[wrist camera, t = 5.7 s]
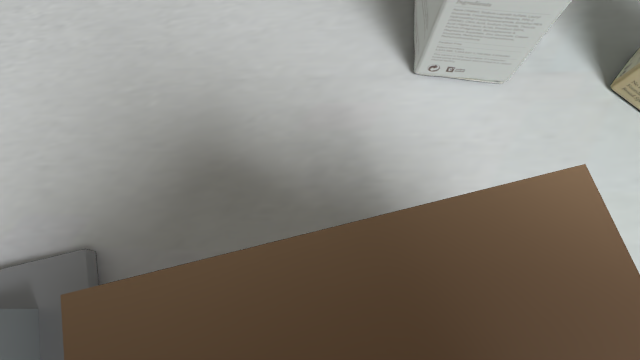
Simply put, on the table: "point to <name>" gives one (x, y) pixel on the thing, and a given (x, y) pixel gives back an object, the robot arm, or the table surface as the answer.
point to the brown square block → (391, 288)
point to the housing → (40, 303)
